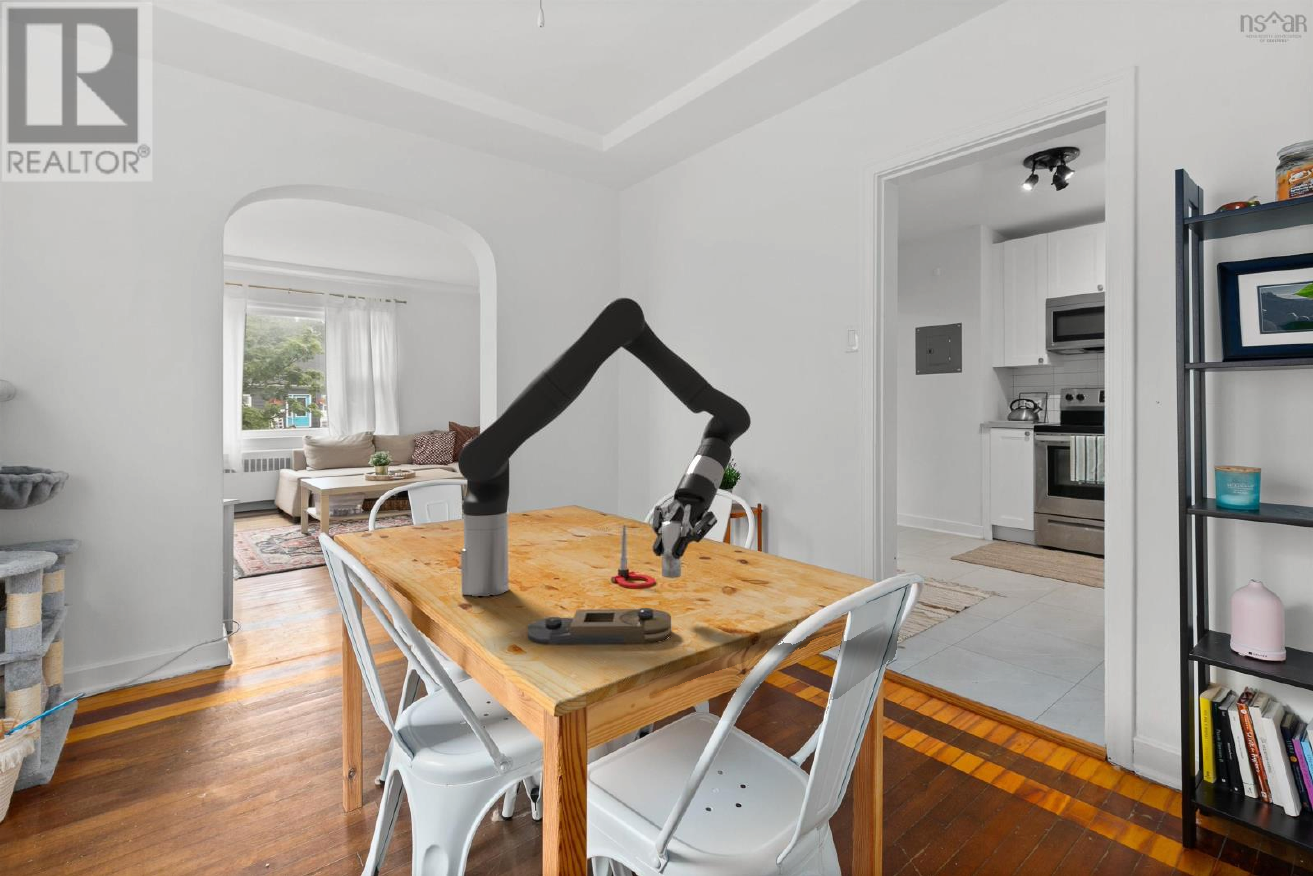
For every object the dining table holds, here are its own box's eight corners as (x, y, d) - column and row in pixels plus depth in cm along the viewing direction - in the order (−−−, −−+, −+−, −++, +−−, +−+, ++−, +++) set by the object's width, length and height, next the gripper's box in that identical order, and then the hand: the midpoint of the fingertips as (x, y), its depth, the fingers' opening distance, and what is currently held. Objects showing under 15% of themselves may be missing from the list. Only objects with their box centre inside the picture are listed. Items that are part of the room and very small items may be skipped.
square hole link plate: (522, 644, 105) (522, 619, 105) (533, 626, 114) (532, 603, 114) (671, 643, 105) (671, 618, 105) (670, 625, 114) (670, 602, 114)
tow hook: (662, 584, 142) (633, 575, 149) (664, 528, 141) (634, 522, 148) (636, 593, 136) (607, 583, 143) (637, 534, 135) (608, 527, 142)
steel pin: (662, 577, 116) (662, 524, 116) (661, 572, 120) (662, 520, 120) (681, 577, 116) (681, 524, 116) (680, 572, 120) (680, 521, 120)
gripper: (663, 469, 128) (626, 539, 118) (724, 473, 119) (690, 548, 110) (677, 492, 132) (643, 561, 123) (737, 498, 124) (705, 572, 115)
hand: (665, 554), depth 116 cm, fingers closed on steel pin, 3 cm apart
